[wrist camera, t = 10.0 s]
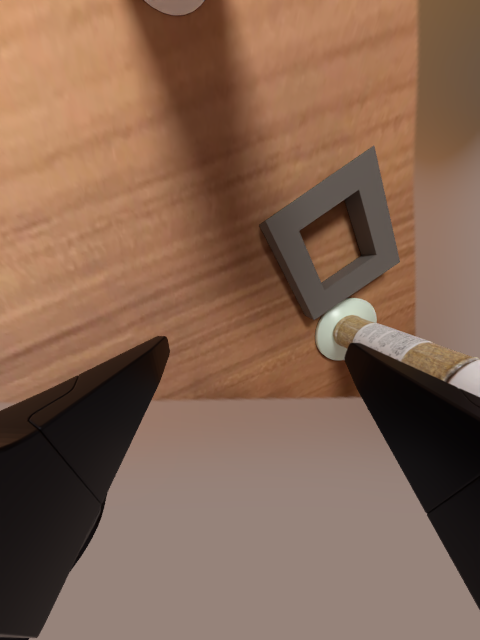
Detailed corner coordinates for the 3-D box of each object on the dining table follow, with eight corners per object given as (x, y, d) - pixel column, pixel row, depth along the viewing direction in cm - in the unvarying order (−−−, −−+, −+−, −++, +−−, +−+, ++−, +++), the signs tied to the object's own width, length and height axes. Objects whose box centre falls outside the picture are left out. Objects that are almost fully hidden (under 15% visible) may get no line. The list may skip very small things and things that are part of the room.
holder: (304, 315, 22) (314, 320, 20) (259, 224, 18) (265, 220, 16) (383, 261, 22) (399, 261, 20) (356, 157, 18) (374, 145, 16)
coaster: (328, 369, 26) (331, 371, 25) (304, 323, 23) (307, 324, 22) (379, 335, 26) (383, 336, 25) (362, 284, 23) (366, 284, 22)
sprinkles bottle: (359, 341, 25) (520, 422, 12) (330, 348, 24) (469, 441, 11) (362, 310, 23) (551, 367, 11) (332, 316, 22) (494, 385, 10)
